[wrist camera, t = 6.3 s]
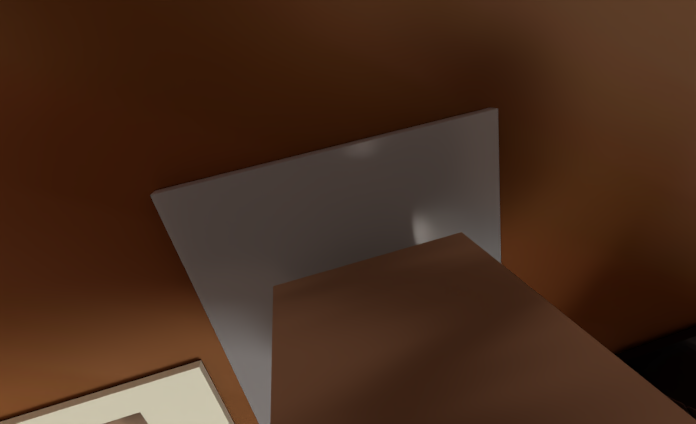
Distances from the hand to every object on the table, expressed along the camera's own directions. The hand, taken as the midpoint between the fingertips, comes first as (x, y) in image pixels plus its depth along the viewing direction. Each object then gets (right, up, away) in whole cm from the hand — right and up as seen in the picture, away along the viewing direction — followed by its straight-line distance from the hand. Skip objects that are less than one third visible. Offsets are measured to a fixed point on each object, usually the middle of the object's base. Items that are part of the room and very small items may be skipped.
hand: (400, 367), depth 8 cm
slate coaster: (-1, +1, +3) cm, 4 cm away
